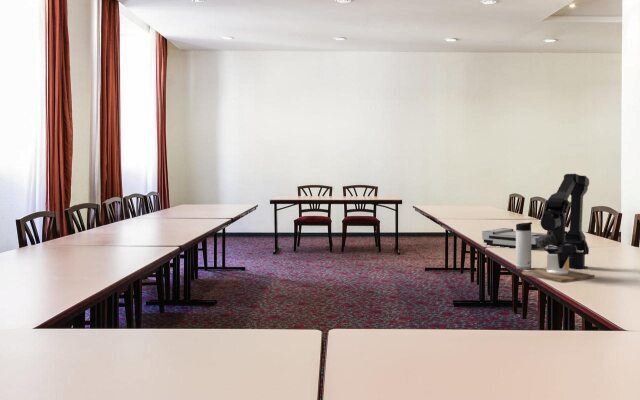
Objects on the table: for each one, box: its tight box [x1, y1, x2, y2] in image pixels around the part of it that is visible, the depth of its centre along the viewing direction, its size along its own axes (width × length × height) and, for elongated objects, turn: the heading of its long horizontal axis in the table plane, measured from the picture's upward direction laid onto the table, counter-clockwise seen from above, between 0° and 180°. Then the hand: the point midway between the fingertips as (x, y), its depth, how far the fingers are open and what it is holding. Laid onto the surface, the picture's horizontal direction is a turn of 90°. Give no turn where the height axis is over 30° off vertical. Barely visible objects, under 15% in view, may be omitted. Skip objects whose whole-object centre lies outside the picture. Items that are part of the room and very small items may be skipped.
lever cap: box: [546, 253, 570, 275], centre depth 226 cm, size 8×8×7 cm
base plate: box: [521, 268, 596, 284], centre depth 226 cm, size 18×20×1 cm
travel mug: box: [515, 221, 533, 271], centre depth 243 cm, size 6×7×20 cm
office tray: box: [481, 227, 547, 250], centre depth 311 cm, size 21×32×8 cm, turn 40°
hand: (557, 267), depth 226 cm, fingers closed on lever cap, 5 cm apart
